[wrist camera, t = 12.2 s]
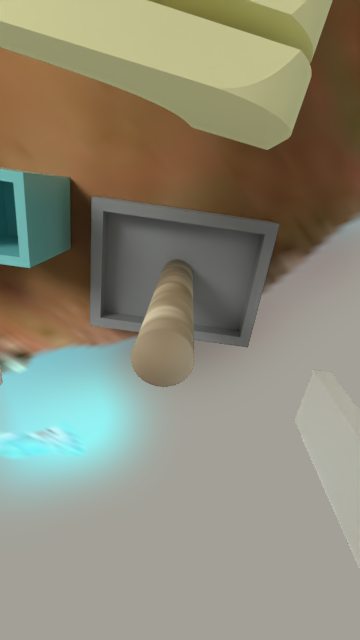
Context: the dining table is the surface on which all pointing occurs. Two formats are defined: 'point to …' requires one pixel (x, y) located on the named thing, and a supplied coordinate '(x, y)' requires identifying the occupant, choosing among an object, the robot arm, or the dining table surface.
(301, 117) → the dining table surface
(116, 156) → the dining table surface
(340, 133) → the dining table surface
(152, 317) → the dowel
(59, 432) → the dining table surface
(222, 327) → the tray
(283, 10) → the slatted curved stool
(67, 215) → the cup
